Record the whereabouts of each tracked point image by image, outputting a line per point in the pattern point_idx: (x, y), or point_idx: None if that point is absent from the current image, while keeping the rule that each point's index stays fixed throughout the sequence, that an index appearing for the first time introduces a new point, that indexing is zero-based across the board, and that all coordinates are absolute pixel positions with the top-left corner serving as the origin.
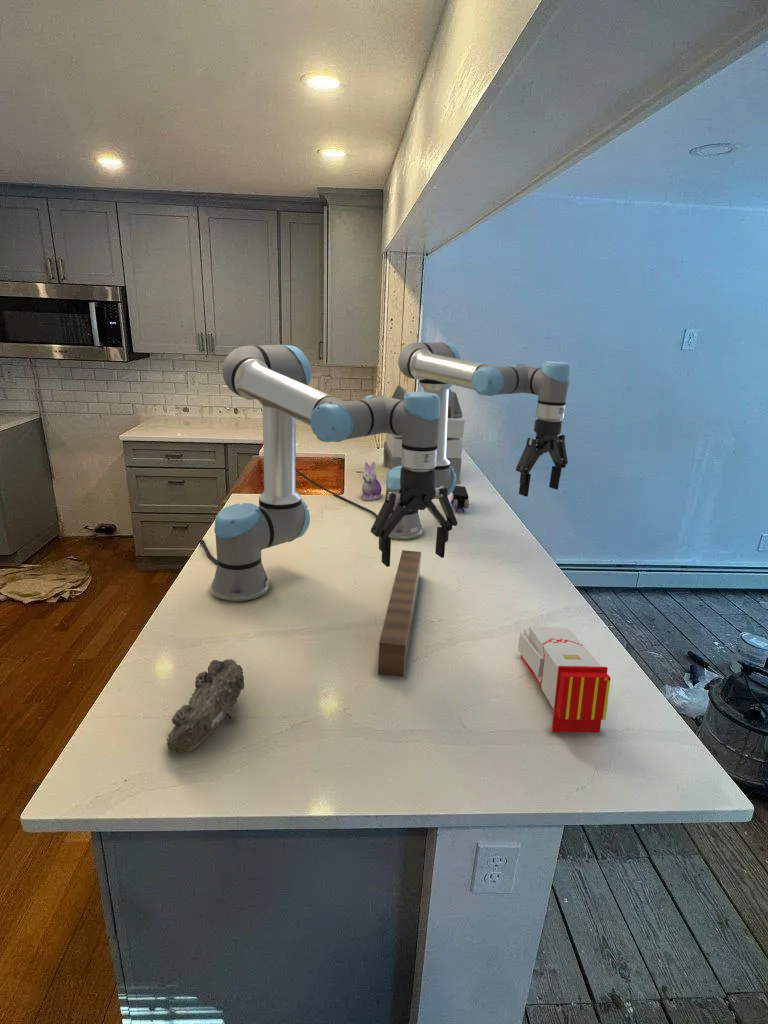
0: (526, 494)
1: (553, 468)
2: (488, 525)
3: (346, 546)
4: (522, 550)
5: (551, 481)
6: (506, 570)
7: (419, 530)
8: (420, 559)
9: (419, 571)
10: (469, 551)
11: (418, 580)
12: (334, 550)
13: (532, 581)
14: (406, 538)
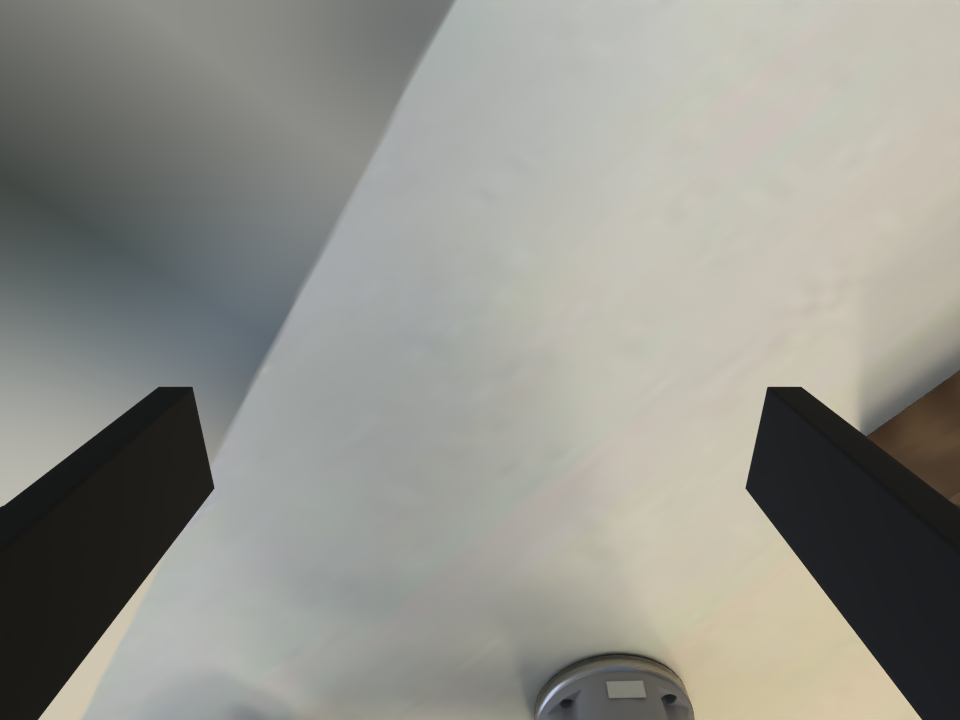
0: (814, 399)
1: (11, 710)
2: (265, 623)
3: (843, 702)
4: (315, 406)
5: (166, 520)
6: (535, 308)
7: (592, 682)
8: (939, 475)
9: (917, 439)
10: (523, 500)
11: (933, 406)
12: (896, 697)
13: (526, 169)
14: (650, 664)
